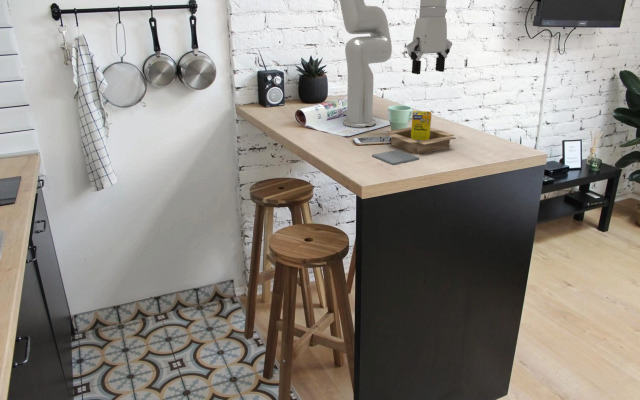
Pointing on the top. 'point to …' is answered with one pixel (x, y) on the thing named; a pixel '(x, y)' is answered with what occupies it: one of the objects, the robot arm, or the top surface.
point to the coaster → (395, 157)
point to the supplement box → (421, 125)
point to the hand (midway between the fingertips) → (427, 72)
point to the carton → (434, 143)
